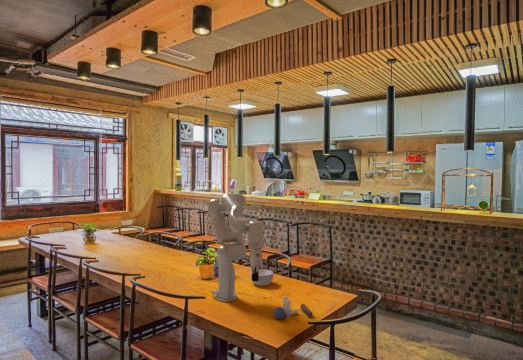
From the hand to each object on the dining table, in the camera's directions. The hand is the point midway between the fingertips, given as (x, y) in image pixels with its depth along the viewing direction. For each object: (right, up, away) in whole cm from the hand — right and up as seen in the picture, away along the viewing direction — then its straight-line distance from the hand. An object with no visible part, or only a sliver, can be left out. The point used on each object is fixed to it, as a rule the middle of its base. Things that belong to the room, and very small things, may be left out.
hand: (255, 280), depth 179 cm
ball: (+12, -16, -1) cm, 20 cm away
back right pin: (+17, -19, +2) cm, 26 cm away
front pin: (+14, -18, +4) cm, 23 cm away
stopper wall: (+27, -19, +7) cm, 34 cm away
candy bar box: (-28, -17, +74) cm, 81 cm away
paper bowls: (+3, -18, +54) cm, 57 cm away
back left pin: (+16, -19, +7) cm, 26 cm away
